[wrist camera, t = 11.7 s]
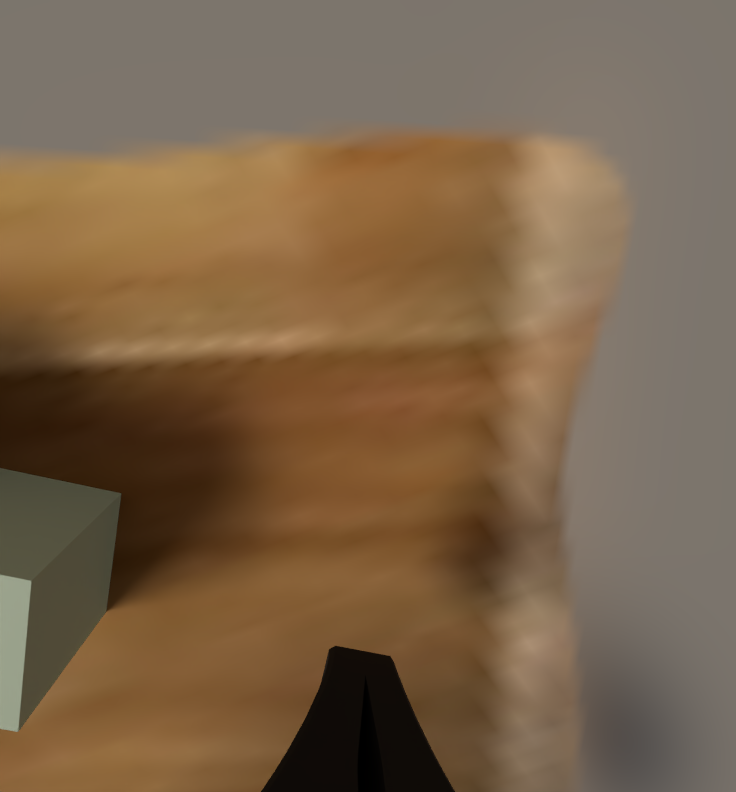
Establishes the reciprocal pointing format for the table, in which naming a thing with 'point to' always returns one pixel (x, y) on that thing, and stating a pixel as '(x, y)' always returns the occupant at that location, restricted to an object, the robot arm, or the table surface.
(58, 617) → the rectangular block
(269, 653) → the table surface
